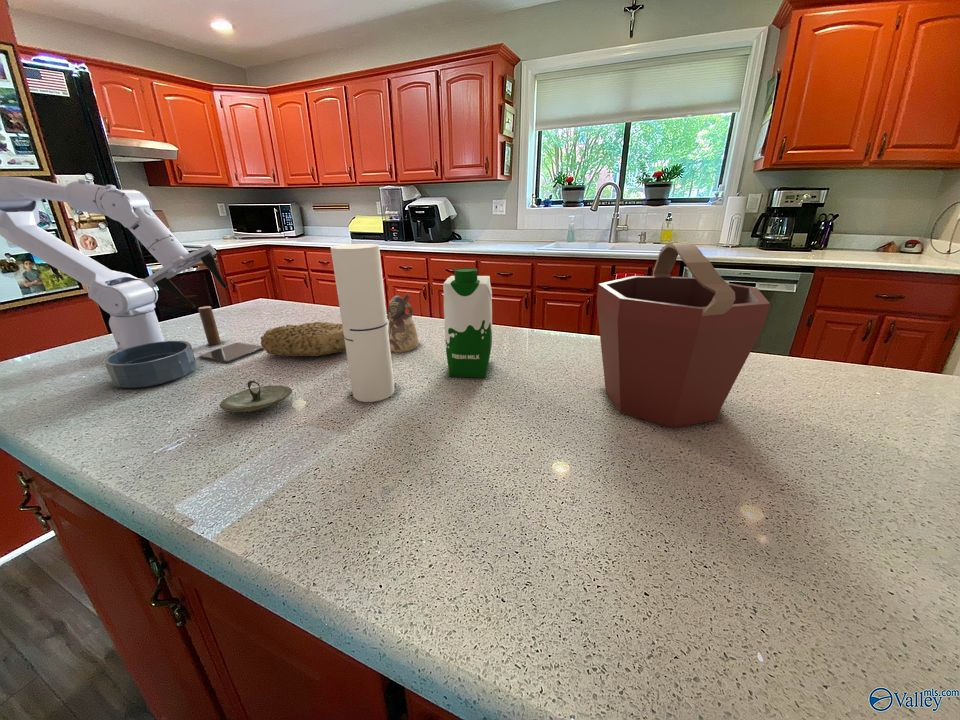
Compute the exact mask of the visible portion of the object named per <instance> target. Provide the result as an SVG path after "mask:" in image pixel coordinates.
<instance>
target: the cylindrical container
mask: <svg viewBox="0 0 960 720" xmlns="http://www.w3.org/2000/svg"><path fill="white" fill-rule="evenodd" d="M330 255H331V259H332V266H333V273H334V281H335V286H336V292H337V300H338V306H339V312H340V319H341V324H342V326H343V333H344V339H345V346H346V350H345V352H346V358H347V359H346V360H347V364H348V365H347V366H348V371H349V379H350V385H351V391H352V392H351V393H352V397H353V398H354V399H355V400H357V401H358V402H364V403H373V402H380V401H383V400H386V399H388V398H390V397H391V396H392V395H393V394H394V393H395V382H394V380H395V379H394V372H393V362H392V354H391V352H392V351H390V343H389V333H388V327H389V323H388V319H387V314H386V313H387V308H386V297H385V287H384V286H385V285H384V278H383V269H382V260H381V251H380V244H378V243H377V244H376V243H347V244H345V243H344V244H336V245H331V246H330Z"/></svg>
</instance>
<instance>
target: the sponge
mask: <svg viewBox="0 0 960 720" xmlns="http://www.w3.org/2000/svg"><path fill="white" fill-rule="evenodd" d="M260 345H261V346H260V347H263V348H264V349H263V351H266V353H267V354H269V355H273V356H281V357H282V356H286V357H288V356H289V357H290V356H294V357H296V356H300V357H305V356H306V357H307V356H309V357H316V356H317V357H318V356H325V355H332V354H337V353H342V352H344V351H345V352H346V346H345V339H344V333H343V326H342V323H335V322H321V321H318V322H317V321H316V322H306V323H302V324H291V323H290V324H286V326H285V325H282V326H275V327H271V328H268V329H267V330H265V333H263V335H261V336H260Z"/></svg>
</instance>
